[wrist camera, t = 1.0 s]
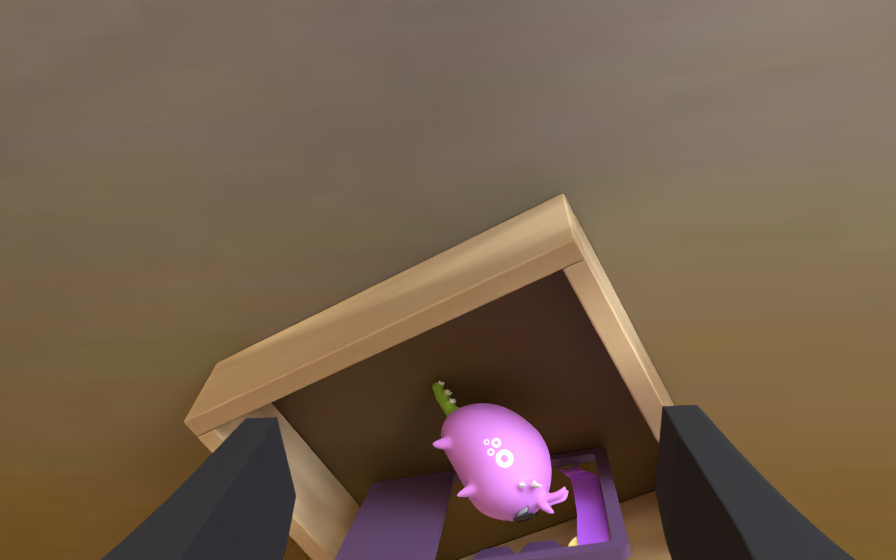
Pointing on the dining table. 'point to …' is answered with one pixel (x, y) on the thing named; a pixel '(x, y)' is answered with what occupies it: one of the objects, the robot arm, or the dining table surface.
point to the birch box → (407, 315)
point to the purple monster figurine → (489, 493)
